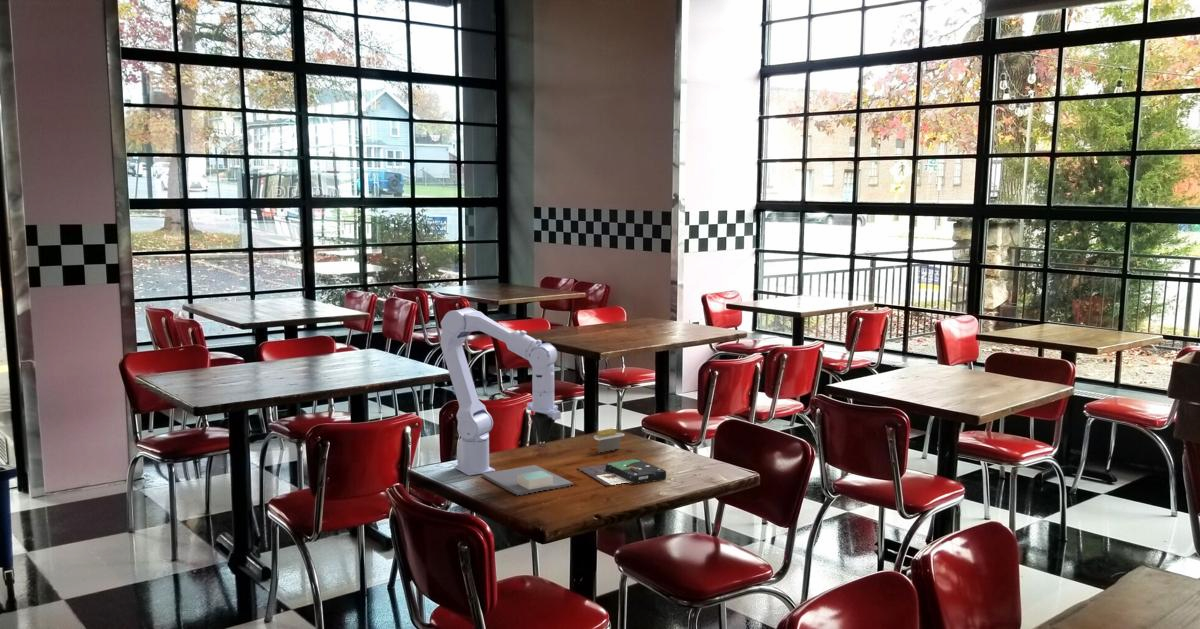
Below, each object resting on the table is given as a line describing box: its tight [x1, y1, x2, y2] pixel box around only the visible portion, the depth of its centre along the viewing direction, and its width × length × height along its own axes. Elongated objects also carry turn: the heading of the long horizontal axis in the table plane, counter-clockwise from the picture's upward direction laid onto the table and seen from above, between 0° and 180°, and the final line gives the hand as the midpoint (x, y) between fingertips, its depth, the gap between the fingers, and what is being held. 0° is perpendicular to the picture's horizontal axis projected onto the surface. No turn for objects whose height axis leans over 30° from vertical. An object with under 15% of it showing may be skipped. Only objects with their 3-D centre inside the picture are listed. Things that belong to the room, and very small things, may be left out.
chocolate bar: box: [576, 463, 631, 487], centre depth 258 cm, size 9×1×18 cm
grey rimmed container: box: [593, 428, 625, 453], centre depth 284 cm, size 12×18×7 cm, turn 128°
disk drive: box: [606, 457, 667, 484], centre depth 259 cm, size 10×3×15 cm
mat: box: [482, 464, 574, 497], centre depth 253 cm, size 20×16×1 cm
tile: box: [518, 471, 553, 490], centre depth 247 cm, size 2×7×6 cm
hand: (543, 441), depth 254 cm, fingers closed
